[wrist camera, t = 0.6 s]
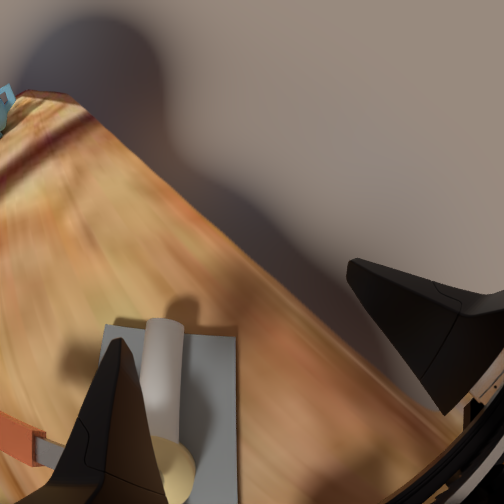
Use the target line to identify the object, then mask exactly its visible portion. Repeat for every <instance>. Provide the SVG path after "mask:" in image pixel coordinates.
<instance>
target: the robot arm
mask: <svg viewBox="0 0 504 504" xmlns="http://www.w3.org/2000/svg"><path fill="white" fill-rule="evenodd" d="M346 279H347V282H348V284H349V285H350V287H351V288H352V290H353V291H354V293H355V294H356V296H357V298H358V299H359V300H360V302H361V304H362V305H363V306H364V308H365V310H366V311H367V312H368V314H369V315H370V316H371V317H372V319H373V320H374V321H375V322H376V324H377V325H378V326H379V328H380V329H381V330H382V331H383V333H384V334H385V335H386V336H387V338H388V339H389V341H390V342H391V343H392V344H393V346H394V347H395V348H396V350H397V351H398V352H399V354H400V355H401V356H402V358H403V359H404V360H405V362H406V363H407V364H408V366H409V367H410V369H411V370H412V371H413V373H414V374H415V375H416V377H417V378H418V379H419V380H420V382H421V384H422V385H423V387H424V388H425V390H426V391H427V392H428V394H429V395H430V396H431V398H432V400H433V401H434V403H435V404H436V405H437V407H438V408H439V410H440V411H441V413H442V414H443V415H444V416H445V415H446V414H448V413H449V412H450V411H451V410H452V409H453V408H454V407H455V406H456V405H457V404H458V403H459V402H460V400H461V399H462V398H463V397H464V396H465V395H466V394H467V393H468V392H469V393H470V394H471V395H472V396H473V398H472V399H471V400H470V402H469V403H468V404H467V405H466V406H465V407H464V421H463V432H462V433H461V434H460V435H459V436H458V437H457V438H456V439H455V440H454V441H453V442H452V443H451V445H450V446H448V447H447V448H446V449H445V450H444V451H443V452H442V453H441V454H440V455H439V456H438V457H437V458H436V459H435V460H434V461H433V462H431V463H430V464H429V465H428V466H427V467H426V468H425V469H423V470H422V471H421V472H420V473H419V474H417V475H416V476H415V477H414V478H413V479H411V480H410V481H409V482H407V483H406V484H405V485H404V486H402V487H401V488H400V489H398V490H397V491H395V492H394V493H393V494H391V495H390V496H388V497H387V498H385V499H384V500H383V501H381V502H380V503H378V504H422V503H423V502H425V501H426V500H427V499H428V498H429V497H430V496H432V495H433V494H434V493H435V492H436V491H437V490H438V489H439V488H441V487H442V486H443V485H444V484H446V485H447V487H448V488H449V489H448V490H446V491H445V492H443V493H441V494H439V495H438V496H437V497H435V499H436V500H435V501H434V502H433V503H431V504H504V465H503V464H502V463H503V462H504V290H502V291H499V292H497V293H494V294H487V295H485V294H479V293H475V292H470V291H466V290H463V289H458V288H455V287H451V286H447V285H444V284H440V283H437V282H435V281H431V280H428V279H425V278H422V277H418V276H415V275H412V274H409V273H405V272H402V271H399V270H396V269H393V268H389V267H386V266H383V265H379V264H376V263H373V262H369V261H366V260H363V259H360V258H355V259H352V260H350V261H349V262H348V266H347V274H346ZM14 504H169V503H168V500H167V497H166V494H165V490H164V487H163V484H162V480H161V476H160V473H159V469H158V465H157V461H156V457H155V453H154V449H153V445H152V440H151V435H150V431H149V426H148V421H147V415H146V410H145V404H144V398H143V393H142V389H141V385H140V381H139V377H138V373H137V369H136V365H135V361H134V357H133V354H132V352H131V350H130V348H129V347H128V345H127V344H126V342H125V340H124V339H123V338H122V337H119V338H115V339H112V340H111V341H110V343H109V345H108V348H107V350H106V352H105V354H104V356H103V358H102V360H101V362H100V365H99V367H98V369H97V371H96V374H95V376H94V378H93V380H92V383H91V385H90V387H89V390H88V392H87V394H86V397H85V399H84V402H83V404H82V407H81V409H80V412H79V414H78V417H77V419H76V422H75V424H74V427H73V429H72V432H71V434H70V437H69V439H68V441H67V444H66V446H65V448H64V450H63V452H62V454H61V457H60V459H59V461H58V463H57V465H56V468H55V470H54V472H53V474H52V476H51V478H50V479H49V481H48V482H47V483H46V484H45V485H44V486H42V487H41V488H39V489H38V490H36V491H35V492H33V493H31V494H30V495H28V496H26V497H25V498H23V499H21V500H20V501H18V502H16V503H14Z"/></svg>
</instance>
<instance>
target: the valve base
mask: <svg viewBox="0 0 504 504" xmlns="http://www.w3.org/2000/svg"><path fill="white" fill-rule="evenodd" d="M119 337H122V338H123V339H124V340H125V342H126V344H127V345H128V347H129V348H130V350H131V352H132V354H133V357H134V361H135V365H136V369H137V373H138V377H139V381H140V385H141V389H142V393H143V398H144V404H145V410H146V415H147V421H148V426H149V431H150V435H151V440H152V445H153V449H154V453H155V457H156V461H157V465H158V468H159V470H160V471H161V472H162V474H163V476H164V480H165V483H164V490H165V494H166V497H167V500H168V503H169V504H238V498H237V457H236V337H226V336H209V335H195V334H184V326H183V325H182V324H181V323H179V322H177V321H174V320H171V319H165V318H152V319H149V320H147V323H146V330H144V329H136V328H128V327H121V326H114V325H108V324H105V329H104V334H103V340H102V345H101V351H100V358H99V365H100V362H101V360H102V358H103V356H104V354H105V352H106V350H107V348H108V345H109V343H110V341H111V340H112V339H115V338H119ZM99 365H98V367H99Z"/></svg>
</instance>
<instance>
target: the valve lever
mask: <svg viewBox="0 0 504 504" xmlns="http://www.w3.org/2000/svg"><path fill="white" fill-rule="evenodd" d="M64 448H65V445H62V444H60V443H57V442H54V441H52V440H49V439H47V438H46V432H45V431H43V430H40V429H38V428H35V427H33V426H31V425H28V424H26V423H24V422H22V421H20V420H18V419H16V418H13V417H11V416H9V415H7V414H6V413H4V412H2V411H0V450H1V451H3V452H5V453H7V454H8V455H10V456H12V457H14V458H16V459H17V460H19V461H21V462H23V463H25V464H27V465H29V466H31V467H39V466H47V467H49V468H51V469H54V470H55V468H56V465H57V463H58V461H59V459H60V457H61V454H62V452H63V450H64ZM158 469H159V468H158ZM159 473H160V476H161V480H162V484H163V487H164V483H165V480H164V476H163V474H162V472H161V471H160V470H159Z"/></svg>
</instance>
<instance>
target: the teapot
mask: <svg viewBox="0 0 504 504" xmlns="http://www.w3.org/2000/svg"><path fill="white" fill-rule="evenodd" d="M3 92H6V95H7V98H8V101H7V102H6V104H5V105H4V103H3V101H2V99H1V98H0V132H1V131H2V130H3V129H4V128H5V127H6V122H7V113H8V111H9V110H10V108H11V107H12V105H13V104H14V103H15V101H16V98H15V96H14V93H13V91H12V89H11V86H10V84H7V85H6V86H4V87H2V88H0V94H2V93H3ZM2 136H3V134H2V133H0V138H1V137H2Z"/></svg>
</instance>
